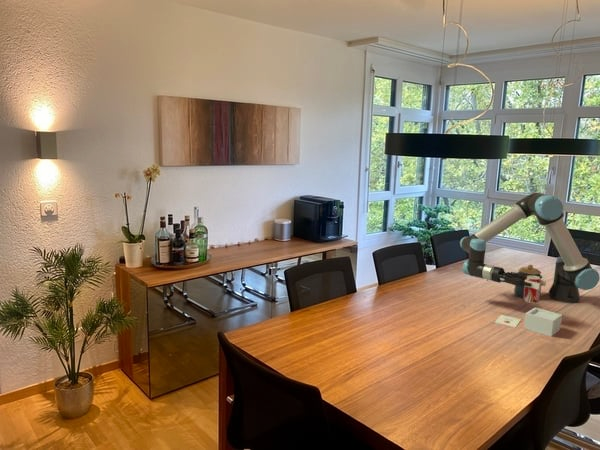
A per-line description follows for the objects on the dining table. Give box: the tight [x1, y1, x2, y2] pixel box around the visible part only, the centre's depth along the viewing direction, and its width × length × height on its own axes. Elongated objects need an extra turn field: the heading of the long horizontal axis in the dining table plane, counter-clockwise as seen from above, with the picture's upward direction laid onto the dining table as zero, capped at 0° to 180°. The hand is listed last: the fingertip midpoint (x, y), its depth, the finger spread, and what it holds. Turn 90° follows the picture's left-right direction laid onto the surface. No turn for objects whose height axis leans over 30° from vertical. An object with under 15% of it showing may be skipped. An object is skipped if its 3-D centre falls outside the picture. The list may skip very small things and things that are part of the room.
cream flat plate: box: [494, 314, 522, 328], centre depth 216 cm, size 12×9×1 cm
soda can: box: [523, 275, 542, 304], centre depth 218 cm, size 7×7×12 cm
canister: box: [513, 264, 543, 299], centre depth 253 cm, size 13×13×18 cm
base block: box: [523, 307, 563, 337], centre depth 207 cm, size 12×12×7 cm
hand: (542, 284), depth 214 cm, fingers closed on soda can, 7 cm apart
